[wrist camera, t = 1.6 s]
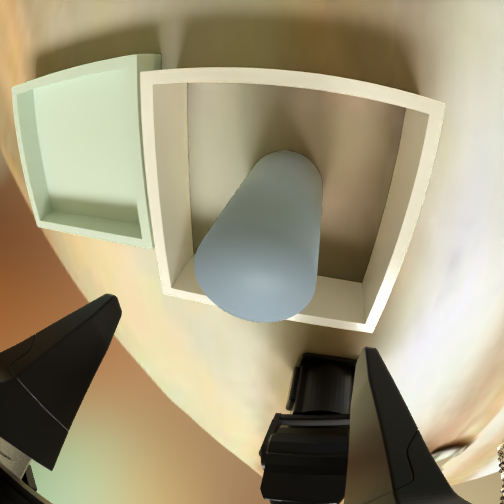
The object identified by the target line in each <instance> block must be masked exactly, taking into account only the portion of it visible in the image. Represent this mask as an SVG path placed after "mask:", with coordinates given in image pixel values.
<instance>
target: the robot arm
mask: <svg viewBox="0 0 504 504" xmlns="http://www.w3.org/2000/svg"><path fill="white" fill-rule="evenodd" d="M121 315H122V311H121V307H120V304H119V301H118V298H117V297H116V296H115V295H112V294H105V295H103V296H101V297H99V298H98V299H96V300H94V301H92V302H90V303H89V304H87V305H85V306H83V307H81V308H80V309H78V310H77V311H75V312H73V313H71V314H69V315H67V316H66V317H64V318H62V319H60V320H59V321H57V322H55V323H53V324H52V325H50V326H48V327H47V328H45V329H43V330H41V331H40V332H38V333H36V335H35V334H34V335H33V336H31V337H30V338H28V339H26V340H24V341H22V342H20V343H19V344H17V345H15V346H13V347H11V348H9V349H7V350H5V351H3V352H1V353H0V504H52V503H51V502H49V501H48V500H46V499H45V498H44V497H42V496H41V495H39V494H38V493H37V492H36V491H37V487H36V484H35V480H34V477H33V473H32V469H31V465H29V463H30V462H31V459H33V460H34V461H36V462H38V463H39V464H41V465H42V466H44V467H46V468H47V469H49V470H51V471H52V470H53V468H54V466H55V463H56V461H57V458H58V456H59V453H60V450H61V448H62V446H63V444H64V441H65V439H66V436H67V434H68V431H69V429H70V427H71V425H72V422H73V420H74V418H75V416H76V413H77V411H78V409H79V407H80V405H81V403H82V400H83V398H84V396H85V394H86V392H87V389H88V388H89V386H90V384H91V382H92V380H93V378H94V376H95V373H96V371H97V370H98V367H99V366H100V364H101V362H102V359H103V358H104V356H105V354H106V351H107V350H108V348H109V345H110V343H111V340H112V338H113V335H114V333H115V330H116V328H117V325H118V323H119V320H120V318H121ZM286 409H287V410H289V411H291V413H290V414H281V413H276V414H275V416H274V419H273V420H272V422H271V424H270V427H269V429H268V432H267V434H266V437H265V439H264V441H263V444H262V446H261V449H260V451H259V455H260V457H261V465H262V468H263V470H264V474H263V479H262V483H261V488H260V489H261V493H262V495H263V498H264V499H267V500H269V501H270V503H271V504H340V503H341V502H342V500H343V499H344V504H471V503H469V502H468V501H466V500H464V499H463V498H461V497H460V496H458V495H457V494H456V493H455V492H454V491H453V489H452V488H451V486H450V485H449V483H448V482H447V480H446V478H445V477H444V475H443V473H442V472H441V470H440V469H439V467H438V465H437V464H436V462H435V460H434V458H433V457H432V455H431V453H430V452H429V450H428V448H427V446H426V444H425V442H424V440H423V438H422V436H421V434H420V432H419V430H418V428H417V426H416V424H415V422H414V420H413V418H412V415H411V413H410V411H409V409H408V407H407V405H406V404H405V402H404V400H403V398H402V396H401V394H400V392H399V390H398V388H397V386H396V384H395V382H394V380H393V378H392V376H391V375H390V373H389V371H388V369H387V367H386V365H385V363H384V362H383V360H382V358H381V356H380V354H379V352H378V351H377V349H376V348H371V347H365V348H364V349H363V350H362V352H361V354H360V356H359V358H358V360H351V359H343V358H336V357H329V356H322V355H316V354H309V353H304V354H303V355H302V358H301V361H300V364H299V367H298V366H296V367H295V368H294V371H293V375H292V378H291V383H290V388H289V394H288V399H287V404H286Z"/></svg>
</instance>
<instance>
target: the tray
mask: <svg viewBox="0 0 504 504" xmlns="http://www.w3.org/2000/svg"><path fill="white" fill-rule="evenodd" d="M154 70H161V54H134V55H128V56H122V57H117V58H111V59H106V60H102V61H97V62H93V63H88V64H84V65H80V66H76V67H72V68H69V69H65V70H62V71H58V72H55V73H52V74H48V75H45V76H42V77H39V78H36V79H33V80H30V81H28V82H25V83H22V84H19V85H17V86H14V87H12V88H11V89H12V102H13V112H14V120H15V128H16V135H17V141H18V147H19V153H20V158H21V163H22V168H23V173H24V177H25V182H26V186H27V190H28V194H29V198H30V202H31V205H32V209H33V212H34V216H35V219H36V223H37V226H38V227H41V228H46V229H51V230H55V231H60V232H65V233H70V234H75V235H80V236H85V237H90V238H95V239H100V240H105V241H110V242H115V243H120V244H125V245H130V246H136V247H141V248H146V249H151V250H153V249H154V248H155V244H154V237H153V230H152V223H151V215H150V207H149V199H148V190H147V181H146V171H145V160H144V148H143V134H142V117H141V92H140V72H144V71H154Z"/></svg>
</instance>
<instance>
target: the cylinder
mask: <svg viewBox="0 0 504 504" xmlns="http://www.w3.org/2000/svg"><path fill="white" fill-rule="evenodd" d="M322 193H323V183H322V178H321V175H320V173H319V171H318V169H317V168H316V166H315V165H314V164H313V163H312V162H311V161H310V160H309V159H308V158H306V157H305V156H303V155H301V154H299V153H296V152H292V151H276V152H272V153H269V154H267V155H265V156H264V157H262V158H261V159H260V160H259V161H258V162H257V163H256V164H255V166H254V167H253V168H252V170H251V171H250V173H249V174H248V175H247V177H246V178H245V180H244V181H243V182H242V184H241V185H240V187H239V188H238V189H237V191H236V192H235V194H234V195H233V197H232V198H231V199H230V201H229V202H228V204H227V205H226V207H225V208H224V209H223V211H222V212H221V214H220V215H219V217H218V218H217V220H216V221H215V223H214V224H213V225H212V227H211V228H210V230H209V231H208V233H207V234H206V236H205V237H204V239H203V240H202V242H201V243H200V245H199V247H198V249H197V251H196V254H195V259H194V270H195V275H196V278H197V281H198V283H199V285H200V287H201V289H202V290H203V292H204V293H205V294H206V296H207V297H208V298H209V299H210V300H211V301H212V302H213V303H214V304H215V305H217V306H218V307H219V308H221V309H222V310H224V311H225V312H227V313H229V314H231V315H233V316H235V317H238V318H241V319H244V320H248V321H253V322H264V323H266V322H277V321H282V320H285V319H288V318H291V317H293V316H295V315H296V314H298V313H299V312H301V311H302V310H303V309H304V308H305V307H306V306H307V305H308V304H309V302H310V301H311V299H312V297H313V295H314V292H315V288H316V280H317V269H318V257H319V244H320V229H321V213H322Z"/></svg>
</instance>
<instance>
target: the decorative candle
mask: <svg viewBox="0 0 504 504" xmlns="http://www.w3.org/2000/svg"><path fill="white" fill-rule="evenodd" d="M497 449H498V450H499V451H498V455H499V458H498V460H499V461H500V462H501V463H500V464H499V467H501V469H500V470H499V472H500V473H501V479H502V489H501V492H502V493H503V496H502V497H501V498H500V500H503V501H502V502H501V503H500V504H504V442H503V443H502V444H500V445H499V446H498V447H497Z"/></svg>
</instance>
